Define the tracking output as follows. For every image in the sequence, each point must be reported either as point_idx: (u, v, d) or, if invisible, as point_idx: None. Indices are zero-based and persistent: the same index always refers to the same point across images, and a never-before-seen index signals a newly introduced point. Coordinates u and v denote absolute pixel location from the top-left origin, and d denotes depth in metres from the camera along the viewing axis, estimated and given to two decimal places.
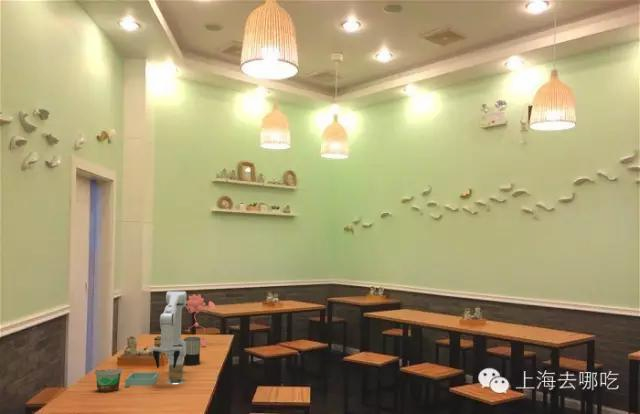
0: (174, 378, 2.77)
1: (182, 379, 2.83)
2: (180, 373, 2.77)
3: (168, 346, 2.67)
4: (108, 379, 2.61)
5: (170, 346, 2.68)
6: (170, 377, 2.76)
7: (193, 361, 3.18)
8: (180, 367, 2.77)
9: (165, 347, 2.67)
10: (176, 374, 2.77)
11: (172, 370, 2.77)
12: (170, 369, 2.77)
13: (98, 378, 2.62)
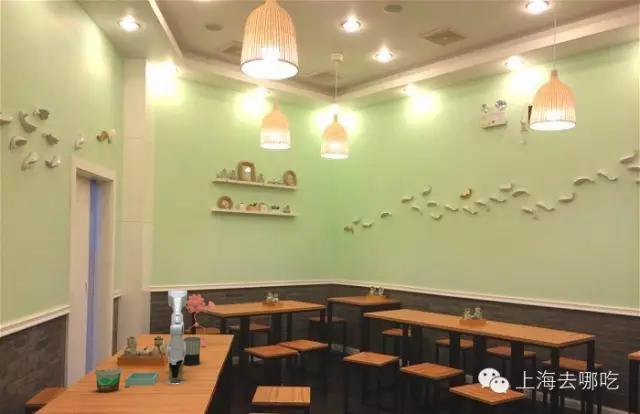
0: (174, 378, 2.77)
1: (182, 379, 2.83)
2: (180, 373, 2.77)
3: (170, 356, 2.78)
4: (108, 379, 2.61)
5: (171, 356, 2.77)
6: (170, 377, 2.76)
7: (193, 362, 3.18)
8: (180, 367, 2.77)
9: None
10: None
11: None
12: (170, 369, 2.77)
13: (98, 378, 2.62)
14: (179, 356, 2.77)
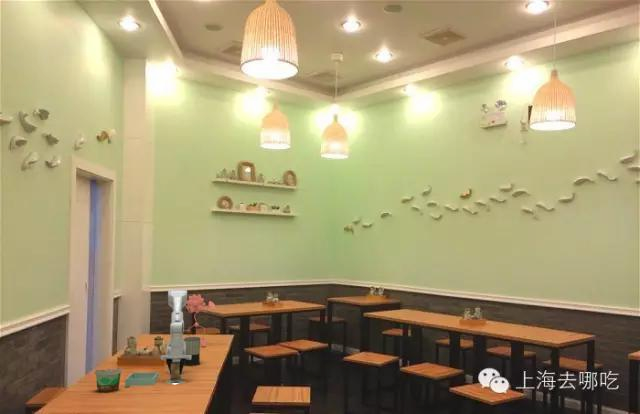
0: (179, 375, 2.79)
1: (182, 379, 2.83)
2: None
3: (178, 354, 2.77)
4: (108, 379, 2.61)
5: (179, 354, 2.78)
6: (179, 375, 2.77)
7: (193, 362, 3.18)
8: None
9: (175, 355, 2.76)
10: None
11: (179, 367, 2.78)
12: (179, 367, 2.77)
13: (98, 378, 2.62)
14: None
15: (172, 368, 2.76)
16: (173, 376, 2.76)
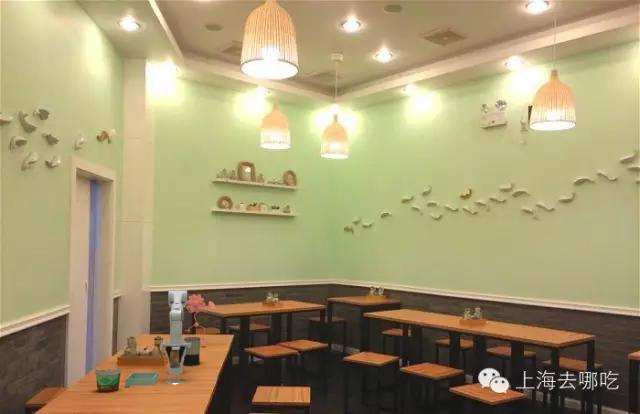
0: (179, 363, 2.79)
1: (182, 379, 2.83)
2: None
3: (177, 342, 2.77)
4: (108, 379, 2.61)
5: (179, 342, 2.78)
6: (178, 363, 2.77)
7: (193, 362, 3.18)
8: None
9: (174, 343, 2.77)
10: None
11: None
12: (178, 355, 2.77)
13: (98, 378, 2.62)
14: None
15: (171, 355, 2.76)
16: (172, 364, 2.76)
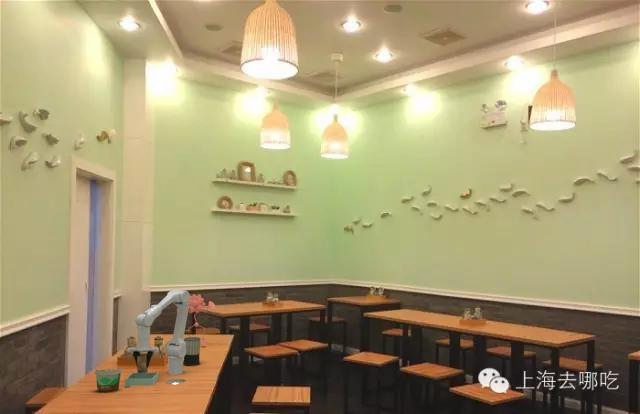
0: (146, 368, 2.77)
1: (182, 379, 2.83)
2: None
3: (144, 346, 2.76)
4: (108, 379, 2.61)
5: (146, 346, 2.76)
6: (145, 367, 2.75)
7: (192, 362, 3.18)
8: None
9: (141, 347, 2.75)
10: None
11: (146, 360, 2.76)
12: (146, 359, 2.76)
13: (98, 378, 2.62)
14: None
15: (138, 360, 2.75)
16: (140, 369, 2.74)
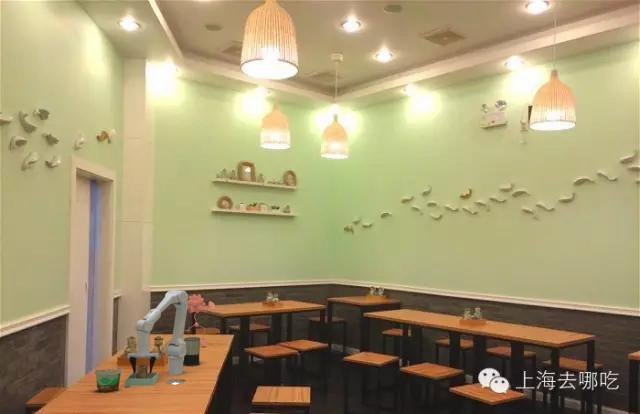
0: (146, 378, 2.77)
1: (182, 379, 2.83)
2: (147, 372, 2.80)
3: (144, 352, 2.76)
4: (108, 379, 2.61)
5: (146, 352, 2.76)
6: (145, 378, 2.75)
7: (192, 362, 3.17)
8: (147, 366, 2.80)
9: (141, 353, 2.75)
10: (146, 374, 2.78)
11: (145, 371, 2.76)
12: (145, 370, 2.75)
13: (98, 378, 2.62)
14: None
15: (137, 371, 2.74)
16: None
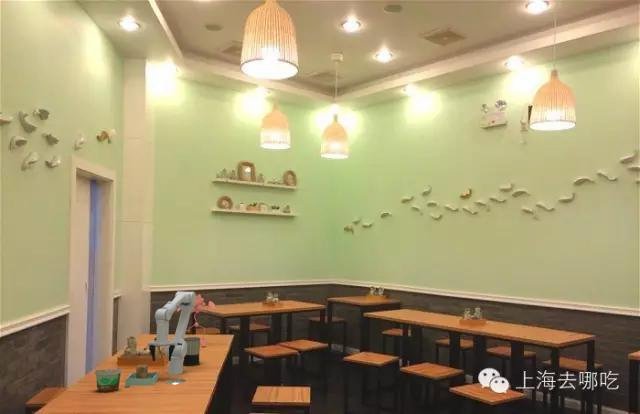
0: (145, 378, 2.77)
1: (182, 379, 2.83)
2: (147, 372, 2.80)
3: (163, 340, 2.80)
4: (108, 379, 2.61)
5: (165, 340, 2.81)
6: (144, 378, 2.75)
7: (192, 362, 3.17)
8: (147, 366, 2.80)
9: (161, 341, 2.80)
10: (146, 374, 2.78)
11: (145, 370, 2.76)
12: (144, 370, 2.75)
13: (98, 378, 2.62)
14: None
15: (137, 371, 2.74)
16: None
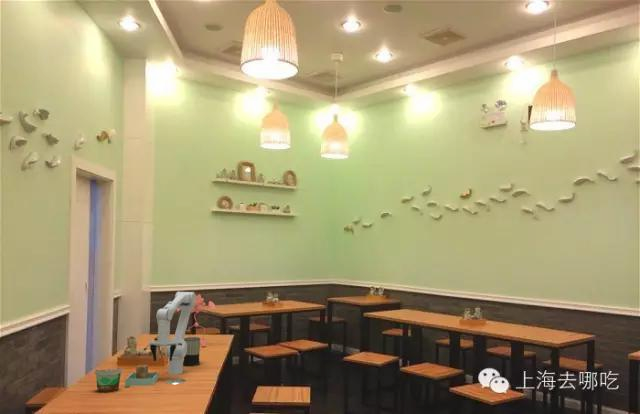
0: (145, 378, 2.77)
1: (182, 379, 2.83)
2: (147, 372, 2.80)
3: (165, 340, 2.80)
4: (108, 379, 2.61)
5: (167, 340, 2.81)
6: (144, 378, 2.75)
7: (192, 362, 3.17)
8: (147, 366, 2.80)
9: (162, 341, 2.80)
10: (146, 374, 2.78)
11: (145, 370, 2.76)
12: (144, 370, 2.75)
13: (98, 378, 2.62)
14: None
15: (137, 371, 2.74)
16: None
